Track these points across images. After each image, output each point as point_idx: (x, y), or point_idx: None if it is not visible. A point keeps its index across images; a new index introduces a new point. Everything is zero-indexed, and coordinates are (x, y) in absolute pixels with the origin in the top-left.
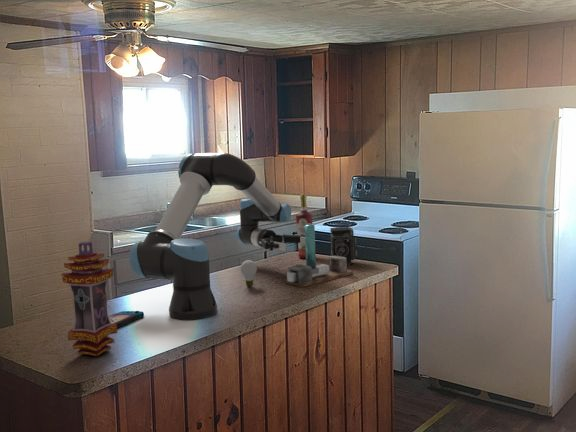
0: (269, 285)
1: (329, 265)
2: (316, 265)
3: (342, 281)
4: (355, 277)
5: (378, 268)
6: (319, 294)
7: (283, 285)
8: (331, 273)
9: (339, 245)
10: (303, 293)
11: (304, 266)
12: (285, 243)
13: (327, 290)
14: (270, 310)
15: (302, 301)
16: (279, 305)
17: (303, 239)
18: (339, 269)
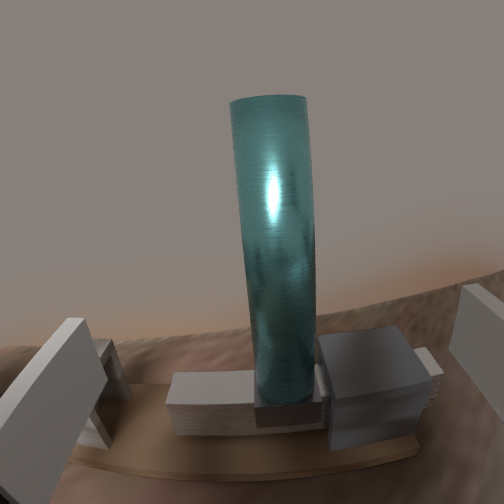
0: (500, 444)
1: (98, 430)
2: (217, 403)
3: (211, 357)
4: (137, 361)
5: (6, 368)
6: (371, 307)
7: (444, 423)
8: (155, 416)
9: None
10: (409, 326)
11: (343, 356)
12: (466, 286)
13: (330, 320)
14: (500, 277)
15: (431, 290)
16: None
17: (30, 431)
18: (124, 388)
